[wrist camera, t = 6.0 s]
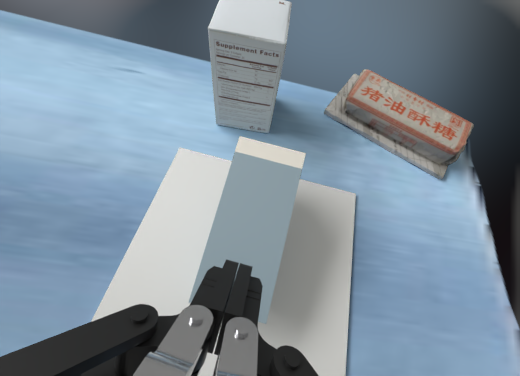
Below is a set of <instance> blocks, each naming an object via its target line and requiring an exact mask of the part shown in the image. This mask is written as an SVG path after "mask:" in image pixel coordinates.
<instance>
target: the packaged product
mask: <svg viewBox="0 0 520 376" xmlns="http://www.w3.org/2000/svg"><path fill="white" fill-rule="evenodd" d="M324 114H326V115H327V116H329V117H331V118H332V119H334V120H336V121H338V122H340V123H342V124H344V125H347V126H348V127H349V128H351V129H352V130H354V131H356V132H357V133H359V134H361V135H362V136H364V137H366V138H367V139H369V140H371V141H372V142H374V143H376V144H378V145H379V146H381V147H382V148H384V149H385V150H387V151H389V152H391V153H393V154H395V155H397V156H399V157H401V158H403V159H404V160H406V161H408V162H410V163H412V164H414V165H416V166H417V167H419V168H421V169H422V170H424V171H425V172H427V173H429V174H430V175H432V176H434V177H436V178H438V179H442V178H443V177H444V174H445V172H446V170H447V167H448V165H449V164H451V163H453V162H455V161H456V160H457V159H458V157H459V155H460V153H461V152H463V151H464V150H465V145H466V140H467V138H468V136H469V135H470V133H471V130H472V128H473V126H474V125H473V124H472V123H470V122H469V121H467V120H465V119H463V118H461V117H460V116H458V115H456V114H454V113H452V112H450V111H448V110H446V109H445V108H442V107H440V106H438V105H437V104H435V103H433V102H431V101H429V100H427V99H425V98H423V97H421V96H419V95H417V94H416V93H413V92H411V91H409V90H407V89H405V88H403V87H401V86H399V85H397V84H395V83H393V82H391V81H389V80H388V79H386V78H384V77H381V76H380V75H378V74H376V73H374V72H372V71H370V70H367V69H366V70H363V71H362V73H361V74H360V75H359V76H358V75H356V74H354V75H353V76H352V77H351V78H350V79H349V81H348V82H347V83H346V84H345V86H344V87H343V88H342V89H341V90H340V92H339V93H338V94H337V95H336V97H335V98H334V99H333V100H332V101H331V103H330V104H329V105H328V107H327V108H326V109H325V111H324Z"/></svg>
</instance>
